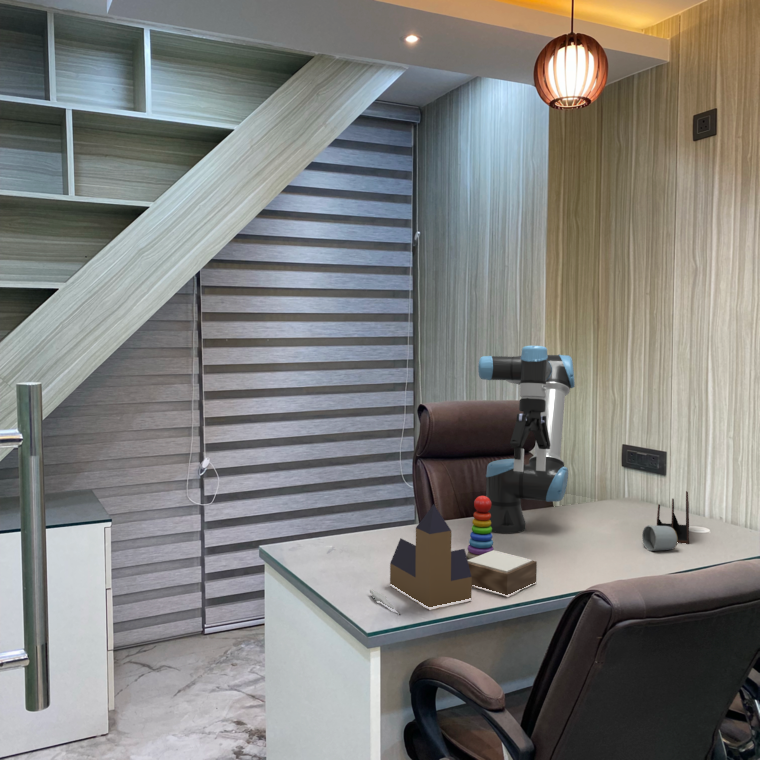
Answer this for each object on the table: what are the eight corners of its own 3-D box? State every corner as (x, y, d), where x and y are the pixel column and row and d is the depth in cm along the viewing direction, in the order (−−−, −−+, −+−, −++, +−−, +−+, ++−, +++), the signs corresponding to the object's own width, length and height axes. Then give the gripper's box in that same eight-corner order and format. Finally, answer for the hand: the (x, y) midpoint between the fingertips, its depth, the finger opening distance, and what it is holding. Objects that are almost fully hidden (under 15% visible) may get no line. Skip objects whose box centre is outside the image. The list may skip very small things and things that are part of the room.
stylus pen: (365, 595, 180) (366, 588, 180) (375, 594, 182) (375, 587, 182) (395, 619, 167) (395, 612, 167) (405, 617, 169) (405, 610, 169)
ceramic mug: (679, 552, 217) (680, 527, 217) (655, 554, 215) (656, 529, 215) (658, 543, 228) (659, 519, 227) (635, 544, 226) (636, 520, 225)
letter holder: (688, 529, 244) (689, 488, 243) (689, 544, 226) (690, 501, 225) (656, 525, 248) (657, 485, 247) (655, 541, 229) (656, 498, 228)
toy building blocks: (429, 610, 171) (429, 508, 170) (390, 586, 188) (390, 492, 186) (471, 601, 177) (472, 502, 176) (429, 578, 194) (430, 487, 192)
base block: (462, 584, 189) (462, 560, 189) (492, 571, 199) (492, 548, 199) (507, 597, 180) (507, 572, 179) (536, 583, 190) (536, 560, 189)
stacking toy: (480, 564, 205) (481, 500, 204) (461, 557, 211) (462, 495, 210) (499, 559, 210) (500, 496, 208) (480, 552, 216) (481, 491, 215)
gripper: (523, 395, 198) (520, 472, 196) (563, 401, 217) (560, 471, 215) (499, 395, 202) (496, 470, 201) (540, 401, 221) (538, 469, 220)
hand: (529, 471), depth 208 cm, fingers open, 13 cm apart
